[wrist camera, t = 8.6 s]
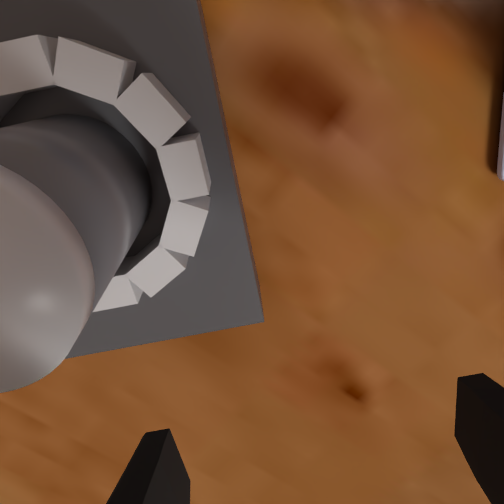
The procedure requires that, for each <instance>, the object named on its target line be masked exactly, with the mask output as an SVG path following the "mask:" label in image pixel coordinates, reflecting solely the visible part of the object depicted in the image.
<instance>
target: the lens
mask: <svg viewBox="0 0 504 504" xmlns="http://www.w3.org/2000/svg"><path fill="white" fill-rule="evenodd" d="M151 204H152V185H151V180H150V176H149V173H148V170H147V167H146V165H145V163H144V161H143V159H142V157H141V156H140V154H139V153H138V151H137V150H136V149H135V147H134V146H133V145H132V144H131V143H130V142H129V141H128V140H127V139H126V138H125V137H124V136H123V135H122V134H121V133H119V132H118V131H117V130H115V129H114V128H112V127H110V126H109V125H107V124H105V123H103V122H101V121H99V120H96V119H93V118H90V117H87V116H82V115H75V114H61V115H54V116H49V117H45V118H41V119H36V120H32V121H28V122H24V123H19V124H15V125H11V126H6V127H2V128H0V393H2V392H7V391H12V390H15V389H19V388H22V387H25V386H27V385H30V384H32V383H34V382H36V381H38V380H40V379H41V378H43V377H44V376H46V375H48V374H49V373H50V372H52V371H53V370H54V369H55V368H56V367H57V366H58V365H60V363H61V362H62V361H63V360H64V359H65V357H66V356H67V355H68V353H69V352H70V350H71V348H72V346H73V345H74V343H75V341H76V340H77V338H78V336H79V334H80V333H81V331H82V329H83V328H84V326H85V324H86V323H87V321H88V319H89V317H90V316H91V314H92V312H93V311H94V309H95V307H96V305H97V304H98V302H99V300H100V299H101V297H102V295H103V293H104V292H105V290H106V288H107V287H108V285H109V283H110V282H111V280H112V278H113V276H114V275H115V273H116V271H117V270H118V268H119V266H120V264H121V263H122V261H123V259H124V258H125V256H126V254H127V252H128V251H129V249H130V247H131V246H132V244H133V242H134V240H135V239H136V237H137V235H138V234H139V232H140V230H141V229H142V227H143V225H144V223H145V222H146V220H147V217H148V215H149V212H150V208H151Z"/></svg>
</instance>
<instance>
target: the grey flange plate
mask: <svg viewBox="0 0 504 504" xmlns="http://www.w3.org/2000/svg"><path fill="white" fill-rule="evenodd" d="M61 114H75V115H82V116H87V117H90V118H93V119H96V120H99V121H101V122H103V123H105V124H107V125H109V126H110V127H112V128H114V129H115V130H117V131H118V132H119V133H121V134H122V135H123V136H124V137H125V138H126V139H127V140H128V141H129V142H130V143H131V144H132V145H133V146H134V147H135V149H136V150H137V151H138V153H139V154H140V156H141V157H142V159H143V161H144V163H145V165H146V167H147V170H148V173H149V176H150V180H151V185H152V204H151V208H150V212H149V215H148V217H147V220H146V222H145V223H144V225H143V227H142V229H141V230H140V232H139V234H138V235H137V237H136V239H135V240H134V242H133V244H132V246H131V247H130V249H129V251H128V252H127V254H126V256H125V258H124V259H123V261H122V263H121V264H120V266H119V268H118V270H117V271H116V273H115V275H114V276H113V278H112V280H111V282H110V283H109V285H108V287H107V288H106V290H105V292H104V293H103V295H102V297H101V299H100V300H99V302H98V304H97V305H96V307H95V309H94V311H93V312H92V314H91V316H90V317H89V319H88V321H87V323H86V324H85V326H84V328H83V329H82V331H81V333H80V334H79V336H78V338H77V340H76V341H75V343H74V345H73V346H72V348H71V350H70V352H69V353H68V355H67V356H66V357H65V359H66V358H71V357H77V356H82V355H88V354H93V353H98V352H104V351H109V350H115V349H120V348H125V347H131V346H136V345H142V344H147V343H152V342H158V341H163V340H169V339H174V338H179V337H185V336H190V335H196V334H201V333H206V332H212V331H217V330H223V329H228V328H233V327H239V326H244V325H250V324H255V323H260V322H264V316H263V308H262V301H261V293H260V285H259V281H258V276H257V271H256V266H255V261H254V257H253V252H252V247H251V242H250V237H249V233H248V228H247V223H246V218H245V213H244V209H243V204H242V199H241V194H240V189H239V185H238V180H237V175H236V170H235V165H234V160H233V156H232V151H231V146H230V141H229V136H228V132H227V127H226V122H225V117H224V112H223V108H222V103H221V98H220V93H219V88H218V84H217V79H216V74H215V69H214V64H213V60H212V55H211V50H210V45H209V40H208V36H207V31H206V26H205V21H204V16H203V11H202V7H201V2H200V0H0V128H2V127H6V126H11V125H15V124H19V123H24V122H28V121H32V120H36V119H41V118H45V117H49V116H54V115H61Z"/></svg>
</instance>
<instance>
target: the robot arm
mask: <svg viewBox="0 0 504 504" xmlns="http://www.w3.org/2000/svg"><path fill="white" fill-rule="evenodd" d="M497 176H498V178H499V179H501V180H503V181H504V94H503V106H502V118H501V129H500V141H499V153H498V164H497ZM455 437H456V440H457V442H458V444H459V446H460V448H461V450H462V452H463V454H464V456H465V458H466V460H467V462H468V464H469V466H470V468H471V470H472V472H473V474H474V476H475V478H476V480H477V481H478V483H479V485H480V486H481V488H482V489H483V491H484V493H485V494H486V496H487V497H488V499H489V501H490V502H491V504H504V388H503V387H502V386H501V385H499V384H498V383H496V382H495V381H493V380H492V379H491V378H489V377H488V376H486V375H485V374H484V373H480V374H475V375H469V376H463V377H458V381H457V399H456V418H455ZM106 504H190V479H189V476H188V474H187V471H186V469H185V466H184V464H183V461H182V459H181V456H180V454H179V451H178V449H177V446H176V444H175V441H174V439H173V436H172V434H171V431H170V429H164V430H158V431H152V432H147V433H145V435H144V436H143V437H142V439H141V441H140V443H139V445H138V447H137V449H136V450H135V452H134V454H133V456H132V458H131V460H130V462H129V463H128V465H127V467H126V469H125V471H124V473H123V474H122V476H121V478H120V480H119V482H118V483H117V485H116V487H115V489H114V491H113V492H112V494H111V496H110V498H109V499H108V501H107V503H106Z"/></svg>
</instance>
